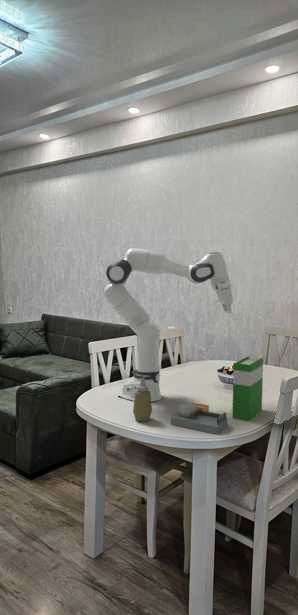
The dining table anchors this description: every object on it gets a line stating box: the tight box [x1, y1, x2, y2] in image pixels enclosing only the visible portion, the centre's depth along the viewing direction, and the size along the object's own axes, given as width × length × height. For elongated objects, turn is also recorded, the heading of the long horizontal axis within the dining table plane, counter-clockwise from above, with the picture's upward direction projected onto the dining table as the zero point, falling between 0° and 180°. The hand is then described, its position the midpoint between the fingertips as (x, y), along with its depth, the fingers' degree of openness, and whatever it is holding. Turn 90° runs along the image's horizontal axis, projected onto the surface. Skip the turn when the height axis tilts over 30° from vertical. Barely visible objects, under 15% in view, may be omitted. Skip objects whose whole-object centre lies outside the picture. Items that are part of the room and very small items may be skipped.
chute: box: [191, 401, 210, 412], centre depth 180 cm, size 8×5×4 cm, turn 60°
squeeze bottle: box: [132, 378, 153, 422], centre depth 171 cm, size 8×8×18 cm
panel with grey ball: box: [170, 402, 229, 435], centre depth 165 cm, size 20×12×7 cm, turn 60°
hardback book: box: [231, 356, 264, 422], centre depth 179 cm, size 18×7×24 cm, turn 147°
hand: (227, 312), depth 196 cm, fingers open, 8 cm apart
